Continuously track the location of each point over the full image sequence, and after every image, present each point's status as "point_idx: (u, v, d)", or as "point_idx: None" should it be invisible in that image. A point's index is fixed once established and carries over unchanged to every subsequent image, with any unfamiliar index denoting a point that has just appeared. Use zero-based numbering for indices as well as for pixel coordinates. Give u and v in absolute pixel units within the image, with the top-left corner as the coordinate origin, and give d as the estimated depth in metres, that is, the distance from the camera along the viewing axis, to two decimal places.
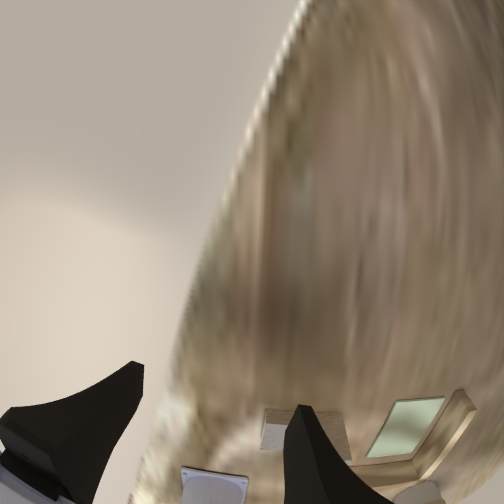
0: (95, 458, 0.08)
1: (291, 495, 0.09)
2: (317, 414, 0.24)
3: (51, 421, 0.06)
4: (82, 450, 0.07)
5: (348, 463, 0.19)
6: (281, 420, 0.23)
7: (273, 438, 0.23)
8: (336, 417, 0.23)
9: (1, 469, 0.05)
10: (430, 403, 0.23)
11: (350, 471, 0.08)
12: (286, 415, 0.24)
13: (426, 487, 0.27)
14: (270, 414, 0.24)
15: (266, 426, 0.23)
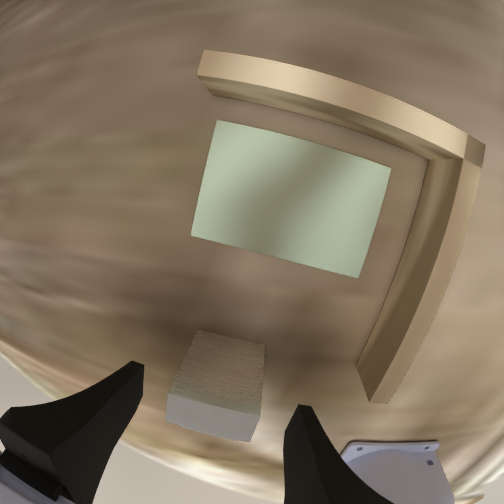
0: (95, 458, 0.08)
1: (291, 495, 0.09)
2: None
3: (51, 421, 0.06)
4: (82, 450, 0.07)
5: (178, 398, 0.11)
6: None
7: None
8: None
9: (1, 469, 0.05)
10: (219, 154, 0.14)
11: (350, 471, 0.08)
12: None
13: None
14: None
15: (185, 427, 0.17)
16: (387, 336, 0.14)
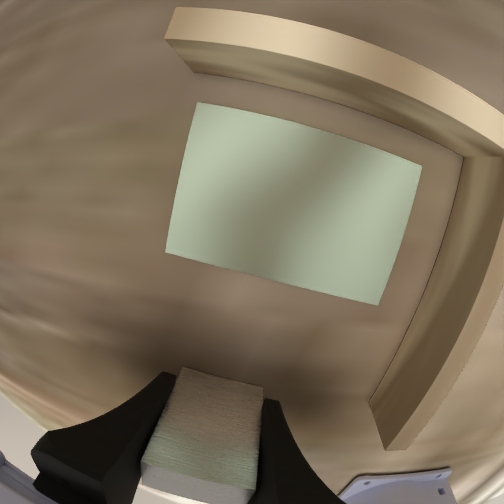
0: (133, 474, 0.08)
1: None
2: None
3: (92, 443, 0.06)
4: (125, 469, 0.07)
5: (154, 467, 0.08)
6: None
7: None
8: None
9: (1, 469, 0.05)
10: (200, 146, 0.11)
11: (309, 469, 0.08)
12: None
13: None
14: None
15: None
16: (411, 375, 0.11)
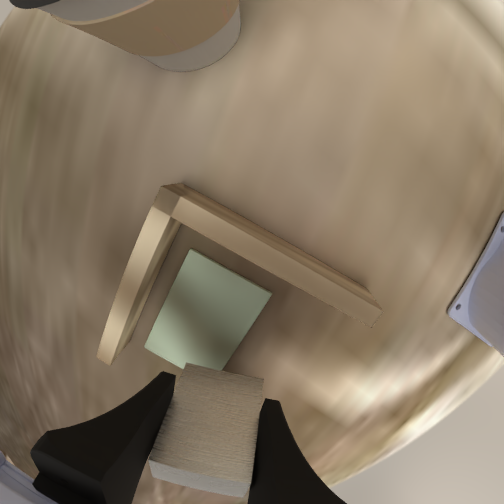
0: (133, 474, 0.08)
1: (253, 491, 0.09)
2: None
3: (92, 443, 0.06)
4: (124, 469, 0.07)
5: (160, 464, 0.09)
6: None
7: None
8: None
9: (1, 469, 0.05)
10: (165, 353, 0.21)
11: (309, 469, 0.08)
12: None
13: (157, 64, 0.15)
14: None
15: None
16: None
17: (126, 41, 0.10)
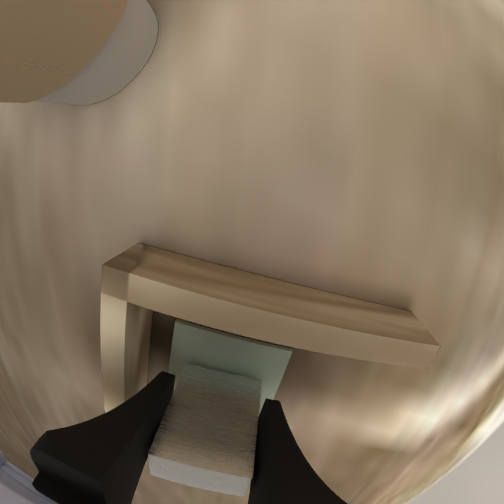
0: (132, 474, 0.08)
1: (254, 491, 0.09)
2: None
3: (92, 442, 0.06)
4: (124, 469, 0.07)
5: (160, 459, 0.09)
6: None
7: None
8: None
9: (1, 469, 0.05)
10: None
11: (309, 469, 0.08)
12: None
13: (68, 102, 0.11)
14: None
15: None
16: None
17: None
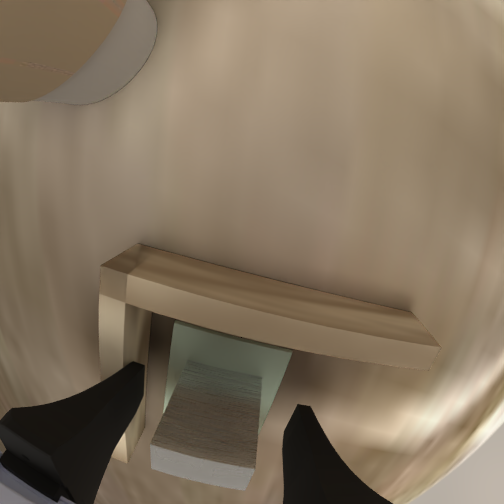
0: (96, 459, 0.08)
1: (290, 495, 0.09)
2: None
3: (52, 422, 0.06)
4: (83, 451, 0.07)
5: (162, 449, 0.09)
6: None
7: None
8: None
9: (1, 469, 0.05)
10: None
11: (349, 471, 0.08)
12: None
13: (66, 102, 0.11)
14: None
15: None
16: None
17: None
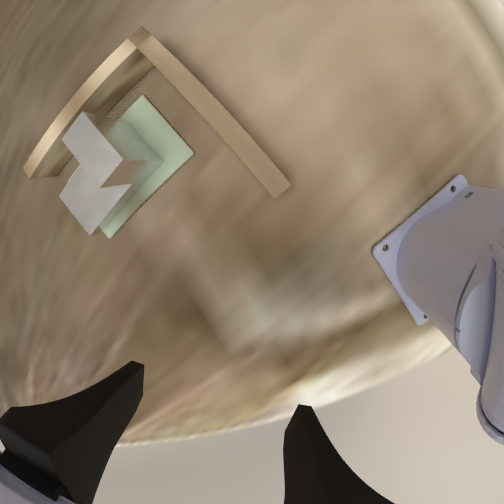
0: (95, 458, 0.08)
1: (291, 495, 0.09)
2: None
3: (51, 420, 0.06)
4: (82, 450, 0.07)
5: (85, 118, 0.13)
6: None
7: (81, 206, 0.18)
8: None
9: (1, 469, 0.05)
10: None
11: (350, 471, 0.08)
12: None
13: None
14: None
15: (62, 198, 0.18)
16: None
17: None
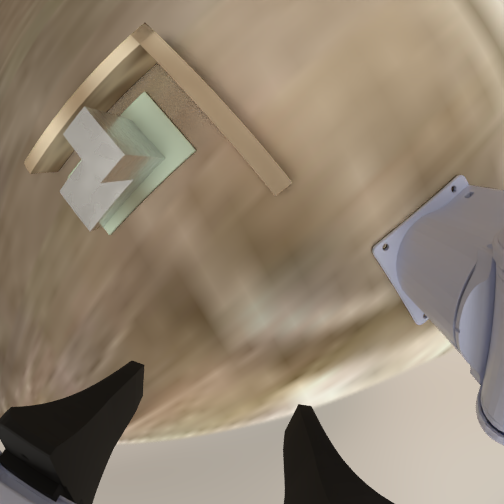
0: (95, 458, 0.08)
1: (291, 495, 0.09)
2: None
3: (51, 421, 0.06)
4: (82, 450, 0.07)
5: (86, 113, 0.13)
6: None
7: (81, 202, 0.18)
8: None
9: (1, 469, 0.05)
10: None
11: (350, 471, 0.08)
12: None
13: None
14: None
15: (63, 194, 0.18)
16: None
17: None
